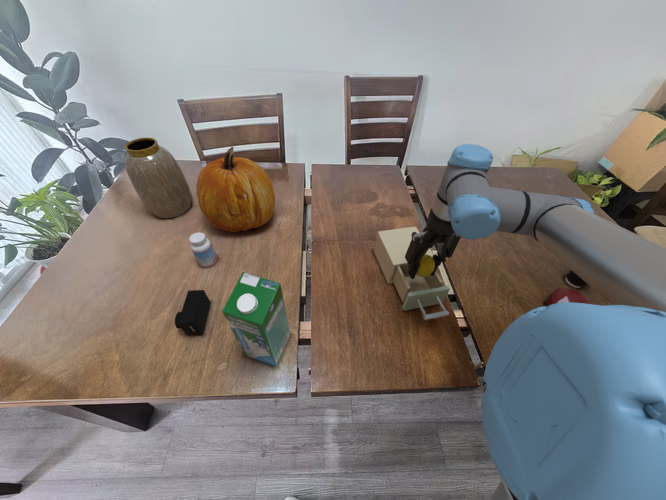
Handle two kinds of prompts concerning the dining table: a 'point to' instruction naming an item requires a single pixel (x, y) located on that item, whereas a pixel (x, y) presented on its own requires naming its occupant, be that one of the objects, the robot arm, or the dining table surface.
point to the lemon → (426, 266)
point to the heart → (566, 297)
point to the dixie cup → (574, 280)
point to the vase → (157, 178)
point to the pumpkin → (235, 193)
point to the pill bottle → (202, 249)
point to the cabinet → (393, 249)
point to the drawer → (420, 291)
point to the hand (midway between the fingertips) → (420, 273)
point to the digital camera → (193, 313)
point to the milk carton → (258, 318)
